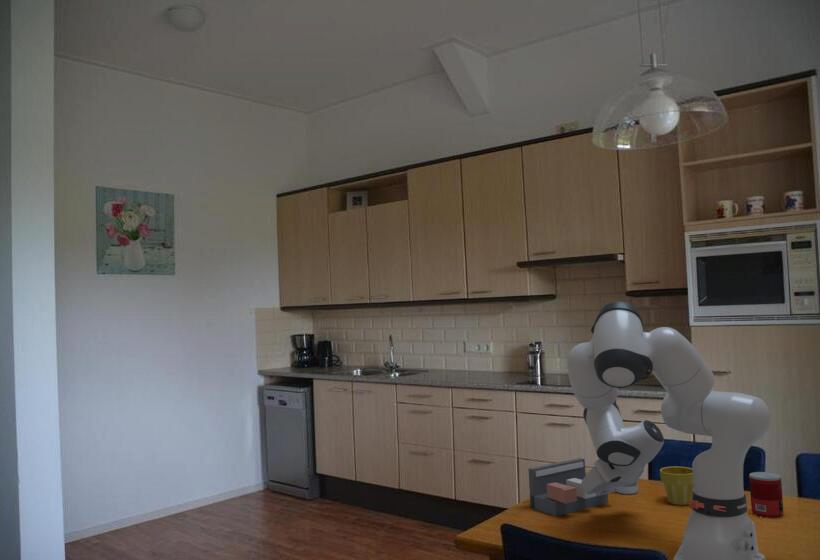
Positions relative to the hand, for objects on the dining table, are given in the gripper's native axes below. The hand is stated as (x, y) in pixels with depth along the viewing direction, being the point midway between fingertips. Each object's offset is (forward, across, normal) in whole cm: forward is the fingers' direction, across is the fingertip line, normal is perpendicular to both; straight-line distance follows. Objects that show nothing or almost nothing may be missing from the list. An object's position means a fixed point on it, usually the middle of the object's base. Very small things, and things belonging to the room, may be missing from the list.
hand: (599, 493), depth 192 cm
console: (+14, 0, -5) cm, 15 cm away
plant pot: (0, -28, +9) cm, 30 cm away
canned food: (-16, -37, +25) cm, 47 cm away
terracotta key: (+7, +8, -4) cm, 11 cm away
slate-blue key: (+7, -8, -4) cm, 12 cm away
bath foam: (+13, -25, -4) cm, 29 cm away
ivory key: (+7, 0, -4) cm, 8 cm away
